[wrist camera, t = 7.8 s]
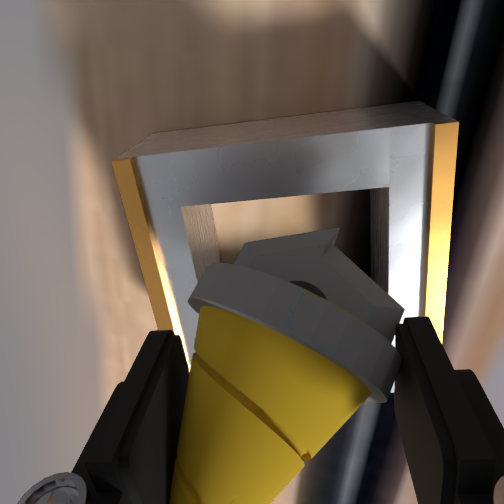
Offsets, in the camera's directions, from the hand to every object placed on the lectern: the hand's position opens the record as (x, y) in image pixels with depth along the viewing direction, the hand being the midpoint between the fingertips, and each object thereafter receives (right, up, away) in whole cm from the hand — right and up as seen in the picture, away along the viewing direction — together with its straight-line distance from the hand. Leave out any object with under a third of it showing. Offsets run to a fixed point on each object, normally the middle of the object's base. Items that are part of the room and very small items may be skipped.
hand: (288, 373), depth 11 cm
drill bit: (0, +1, +3) cm, 3 cm away
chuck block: (+1, +4, +7) cm, 8 cm away
